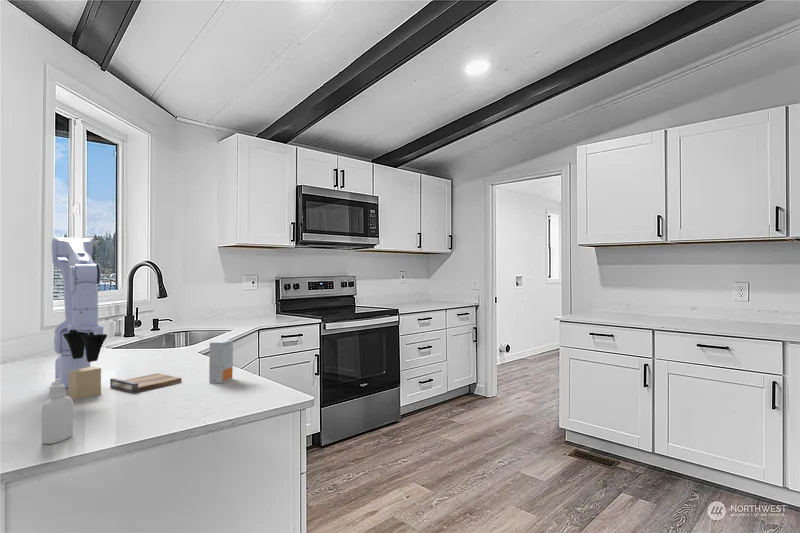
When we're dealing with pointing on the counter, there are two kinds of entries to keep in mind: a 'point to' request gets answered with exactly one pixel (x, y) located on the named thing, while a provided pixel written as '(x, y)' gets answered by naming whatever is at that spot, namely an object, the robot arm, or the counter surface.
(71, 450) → the counter surface
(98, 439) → the counter surface
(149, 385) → the tan tray
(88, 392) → the box
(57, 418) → the eye dropper bottle
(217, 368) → the skincare box
